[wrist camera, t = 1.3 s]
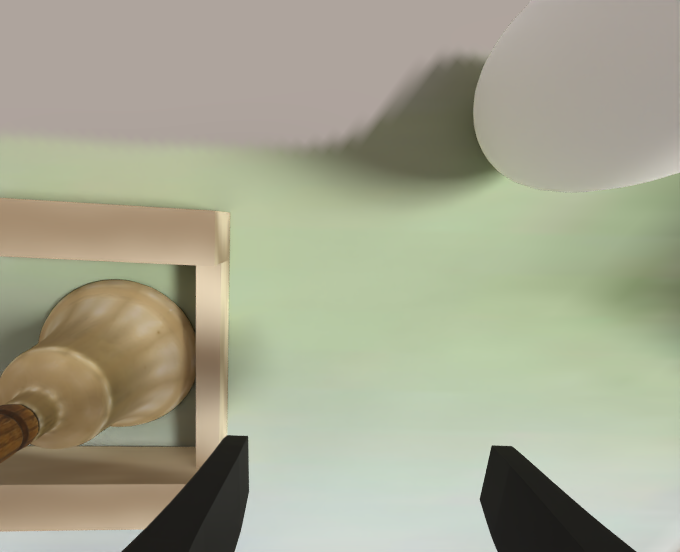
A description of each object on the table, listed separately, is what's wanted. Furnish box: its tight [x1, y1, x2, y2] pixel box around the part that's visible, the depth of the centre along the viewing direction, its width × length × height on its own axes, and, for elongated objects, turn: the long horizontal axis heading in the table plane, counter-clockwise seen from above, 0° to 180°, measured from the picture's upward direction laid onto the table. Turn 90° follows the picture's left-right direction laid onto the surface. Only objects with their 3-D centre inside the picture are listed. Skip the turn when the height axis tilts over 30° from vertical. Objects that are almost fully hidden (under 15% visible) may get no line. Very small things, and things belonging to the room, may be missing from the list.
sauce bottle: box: [473, 0, 680, 192], centre depth 11 cm, size 8×8×18 cm
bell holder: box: [0, 198, 230, 531], centre depth 18 cm, size 16×11×3 cm
